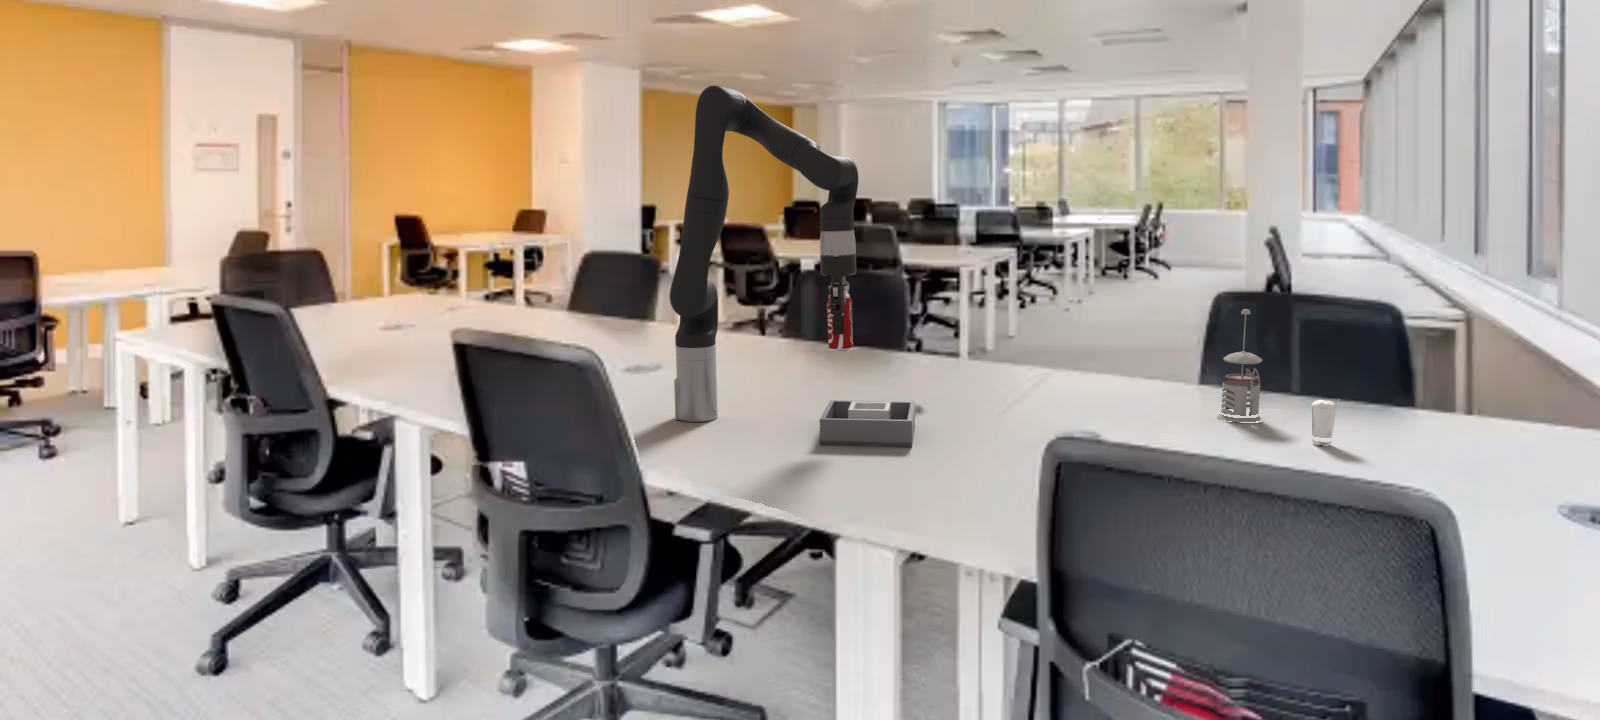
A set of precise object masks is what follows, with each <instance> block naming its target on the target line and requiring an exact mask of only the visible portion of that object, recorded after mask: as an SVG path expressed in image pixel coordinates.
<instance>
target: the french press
mask: <svg viewBox="0 0 1600 720" xmlns="http://www.w3.org/2000/svg"><path fill="white" fill-rule="evenodd" d="M1240 314H1241V315H1244V325H1243V327H1244V328H1243V343H1242V345H1243V346H1242V351H1238V352H1236V351H1235V352H1233V353H1230V354H1227V355H1226V356H1224V357H1223V358H1222V359H1223V362H1226V363H1231V364H1236V365H1237V364H1238V365H1241V373H1229V374H1228V373H1227V374H1225V375H1224V378H1225V379H1226V380H1224V381H1223V382H1222V386H1221V387H1222V390H1221V391H1222V393H1221V397H1222V398H1221V403H1222V404H1221V409H1220V410H1221V411H1220V413H1219V414H1218V415H1217V416H1216V417H1217V418H1218V419H1221V420H1226V421H1232V422H1256V421H1260V420H1261V419H1262V417H1261V416H1259V411H1260V409H1259V407H1260V395H1261V394H1260V393H1261V392H1260V391H1261V379H1260V376H1259V372H1258V370H1257V368H1255V367H1254V369H1253V372H1251V371H1250V369H1249V368H1246V370H1245V372H1246V373H1245V374H1244V365H1257V364H1261V362H1263V359H1262V358H1261V357H1259V356H1258V355H1256V354H1254V353H1252V352H1247V351H1245V341H1246V325H1247V315H1251V309H1248V308H1244V309H1242V310H1241V313H1240ZM1255 373H1256V375H1254V374H1255ZM1257 381H1258V382H1257ZM1248 391H1249V393H1248ZM1247 403H1249V404H1247ZM1247 408H1249V410H1250V412H1249V416H1251V415H1256V414H1258V417H1256V418H1233V417H1228V416H1224V415H1222V414H1221V412H1222V413H1224V414H1230V415H1240V416H1246V410H1247ZM1228 409H1233V410H1234V412H1232V411H1230V410H1228ZM1217 418H1216V419H1217ZM1218 419H1217V420H1218ZM1221 420H1220V421H1221Z"/></svg>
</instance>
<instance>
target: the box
mask: <svg viewBox="0 0 1600 720" xmlns="http://www.w3.org/2000/svg"><path fill="white" fill-rule="evenodd" d="M915 428H916V401H889V400H885V401H884V400H882V401H881V400H839V399H838V400H829V402H828V404H827V405H826V407H825V409H824V411H823V412H822V414H821V416H820V418H819V445H820V446H837V447H838V446H842V447H843V446H844V447H845V446H847V447H849V446H850V447H882V448H883V447H887V448H888V447H889V448H891V447H892V448H893V447H894V448H912V447H913V442H914V437H915V436H914V435H915Z"/></svg>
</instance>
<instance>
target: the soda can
mask: <svg viewBox="0 0 1600 720" xmlns="http://www.w3.org/2000/svg"><path fill="white" fill-rule="evenodd" d="M846 296H847V299H846V306H844V333H843V334H834V333H833V317H832V315H831V313H830V311H831V307H830V294H828V298H827V302H826V308H827V309H826V310H827V311H826V313H827V337H828V339H827V341H828V350H829V352H833V353H844V352H846V353H847V352H851V351H852V350H853V348H854V341H853V336H854V335H853V305H852V304H853V301H852V298H851V296H850V293H848V294H847V295H846ZM843 299H844V296H843ZM843 299H842V301H843ZM835 309H840V305H837V306H835Z"/></svg>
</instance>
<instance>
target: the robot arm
mask: <svg viewBox="0 0 1600 720" xmlns="http://www.w3.org/2000/svg"><path fill="white" fill-rule="evenodd" d="M694 117H695V119H694V123H695V124H694V137H693V138H694V142H693V152H692V153H693V154H692V159H691V160H692V161H691V168H690V175H689V183H688V187H687V194H686V197H685V198H686V200H685V206H684V207H685V208H684V214H683V223H682V229H681V235H680V248H679V254H678V259H677V262H676V263H677V264H676V265H675V266H676V267H675V270H674V273H673V274H674V275H673V278H672V282H671V286H670V289H669V302H670V305H671V308H672V310H673V311H674V313H676V314H677V315H678V316H679V324H678V329H677V331H676V333H675V336H674V337H675V338H674V339H675V340H674V341H675V342H674V343H675V344H674V345H675V363H676V364H675V366H676V369H675V370H676V371H675V372H676V377H675V379H673V383H674V384H673V385H674V414H675V417H674V418H675V421H684V422H692V423H695V422H696V423H697V422H698V423H699V422H708V421H713V420H715V419H717V418H718V415H719V414H718V409H719V408H718V387H717V385H718V383H717V382H718V381H717V350H716V347H717V346H716V341H717V340H716V339H717V338H716V337H717V333H718V329H719V298H718V297H719V295H718V289H717V286H716V285H715V283H714V281H713V280H712V279H711V278H709V271H710V263H711V259H712V255H713V253H714V250H715V248H716V245H717V243H718V241H719V238H720V236H721V233H722V230H723V227H724V225H725V221H726V216H727V211H728V203H729V197H730V188H729V183H728V178H727V174H726V169H725V164H724V159H723V153H724V143H725V138H726V137H725V136H726V132H734V133H736V134H740V135H742V136H745V137H747V138H750V139H752V140H753V141H755V142H757V143H758V144H760V145H761V146H762V147H763V148H764V149H765V150H766V151H767V152H768V153H769V154H771V156H773V157H775V158H776V159H777V160H778V161H780V162H782V163H784V164H786V165H787V166H788V167H790V168H791V169H793V170H796V171H798V172H799V173H800V174H801V175H802V176H803V177H804V178H805V179H806V180H808V181H809V182H810V183H811V184H813V186H816V187H817V188H819V189H822V190H825V191H828V198H827V202H825V203H823V204H822V205H821V207H820V209H819V211H820V212H819V219H820V221H819V222H820V237H819V255H820V256H819V257H820V258H819V259H820V262H819V263H820V274H821V276H824V277H831V283H829V284H828V292H829V295H830V307H831V311H830V313H831V315H832V317H833V333H834V334H843V333H844V306H846V299H847V296H846V295H847V294H849V292H850V283H849V281H848V280H847V279H846V278H847V277H846V276H853V275H856V273H857V254H856V253H857V252H856V251H857V249H856V248H857V247H856V246H857V245H856V237H855V224H854V223H855V221H854V208H855V203H856V201H857V199H856V198H857V193H858V188H859V187H858V186H859V170H858V167H857V165H856V163H855V161H854V160H852V158H850V157H848V156H842V155H841V156H839V155H837V156H836V155H830V154H828V153H826V152H824V151H823V150H821V147H820V146H819V144H817V142H815V141H813V140H812V139H811V138H809V137H808V136H805V135H804V134H802V133H800V132H798V131H796V130H794V129H793V128H791V127H788V125H785V124H783V123H781V122H780V121H778V120H776V119H774V118H773V117H771V115H768V114H767V113H766V112H764V111H763V110H762V109H760V108H759V107H758V106H757V105H756V104H754V102H752V101H751V100H750V99H749V98H747V96H745V95H744V94H743V93H741V92H740V91H738V90H736V89H733V88H730V87H726V86H719V85H709V86H707V87H706V88H704V89H703V91H701V93H700V95H699V97H698V99H697V103H696V107H695V116H694ZM846 280H847V281H846ZM843 296H844V299H843ZM842 299H843V301H842ZM837 305H840V309H835V306H837Z"/></svg>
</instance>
